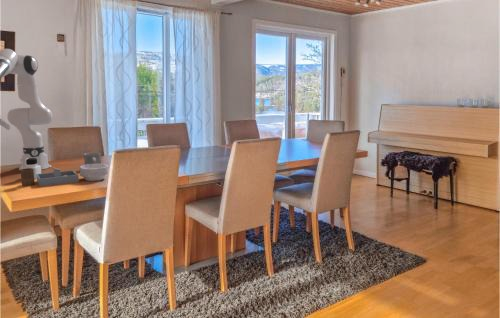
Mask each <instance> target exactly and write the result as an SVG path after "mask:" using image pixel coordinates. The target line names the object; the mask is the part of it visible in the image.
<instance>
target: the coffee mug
mask: <svg viewBox="0 0 500 318" xmlns="http://www.w3.org/2000/svg"><path fill="white" fill-rule="evenodd" d="M101 155H102V154H101V152H85V153H84V154H83V160H84V165H87V164H102V157H101Z"/></svg>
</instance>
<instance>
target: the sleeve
mask: <svg viewBox="0 0 500 318" xmlns="http://www.w3.org/2000/svg"><path fill="white" fill-rule="evenodd" d="M19 171H20V179H21V180H20V181H21V186H22V187H31V186H35V185H36V182H35V179H34V171H33V168H26V169H21V170H19Z"/></svg>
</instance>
